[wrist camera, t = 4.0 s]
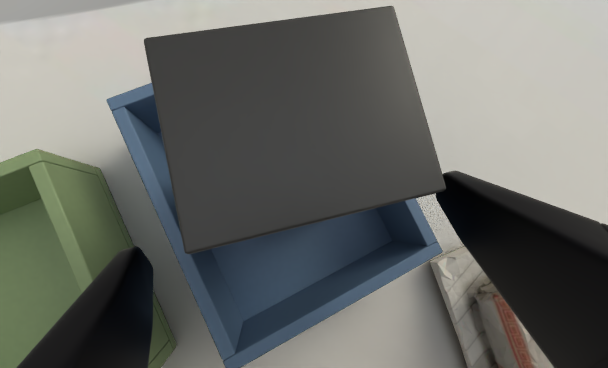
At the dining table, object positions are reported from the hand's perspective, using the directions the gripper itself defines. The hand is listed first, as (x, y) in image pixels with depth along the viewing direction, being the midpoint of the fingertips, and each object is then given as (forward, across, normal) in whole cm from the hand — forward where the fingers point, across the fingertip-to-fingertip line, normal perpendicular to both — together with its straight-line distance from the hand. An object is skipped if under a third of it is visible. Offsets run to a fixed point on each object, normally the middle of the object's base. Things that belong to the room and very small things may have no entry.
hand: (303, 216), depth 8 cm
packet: (+8, 0, +5) cm, 9 cm away
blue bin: (+8, 0, +5) cm, 10 cm away
